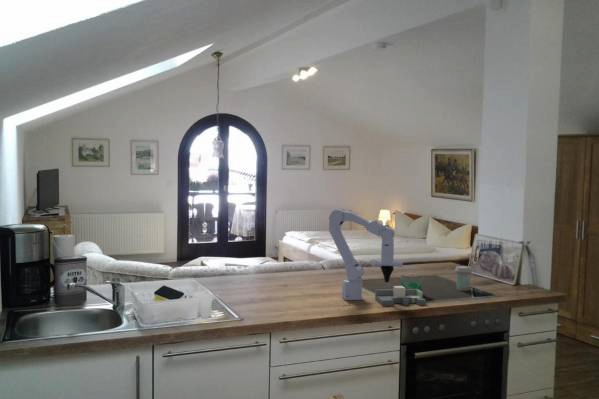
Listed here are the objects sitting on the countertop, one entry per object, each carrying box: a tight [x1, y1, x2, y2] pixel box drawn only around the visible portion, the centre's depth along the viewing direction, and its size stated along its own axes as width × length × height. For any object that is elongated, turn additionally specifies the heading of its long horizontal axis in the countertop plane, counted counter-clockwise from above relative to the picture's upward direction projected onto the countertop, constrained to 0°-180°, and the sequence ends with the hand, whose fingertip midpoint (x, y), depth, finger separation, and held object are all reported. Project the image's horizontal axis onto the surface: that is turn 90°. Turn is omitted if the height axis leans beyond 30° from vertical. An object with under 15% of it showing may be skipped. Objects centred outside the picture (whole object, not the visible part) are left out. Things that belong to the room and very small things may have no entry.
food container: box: [399, 274, 425, 292], centre depth 278 cm, size 12×6×10 cm, turn 101°
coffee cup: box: [454, 265, 473, 292], centre depth 294 cm, size 8×9×12 cm
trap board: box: [374, 288, 427, 307], centre depth 264 cm, size 21×11×5 cm, turn 98°
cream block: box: [392, 285, 405, 298], centre depth 266 cm, size 4×4×4 cm
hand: (386, 281), depth 265 cm, fingers closed
